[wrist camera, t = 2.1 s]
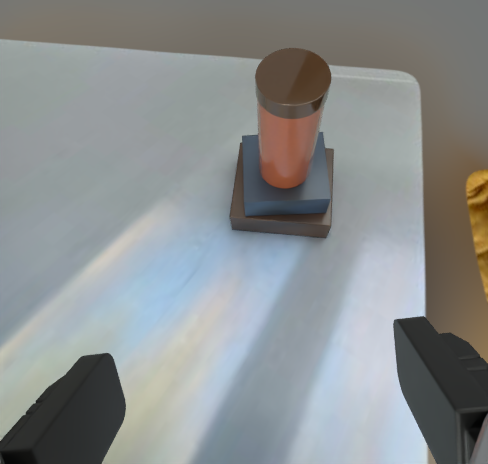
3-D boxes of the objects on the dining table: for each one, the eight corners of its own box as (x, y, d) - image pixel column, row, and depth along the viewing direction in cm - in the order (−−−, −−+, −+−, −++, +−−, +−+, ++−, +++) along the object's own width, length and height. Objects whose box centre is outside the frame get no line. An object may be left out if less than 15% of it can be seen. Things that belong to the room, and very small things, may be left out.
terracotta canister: (254, 187, 36) (251, 103, 26) (260, 141, 38) (259, 45, 28) (310, 191, 36) (330, 107, 25) (313, 145, 38) (332, 49, 27)
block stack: (231, 229, 42) (226, 203, 36) (241, 158, 45) (238, 124, 39) (326, 238, 41) (336, 212, 35) (329, 165, 44) (338, 130, 38)
